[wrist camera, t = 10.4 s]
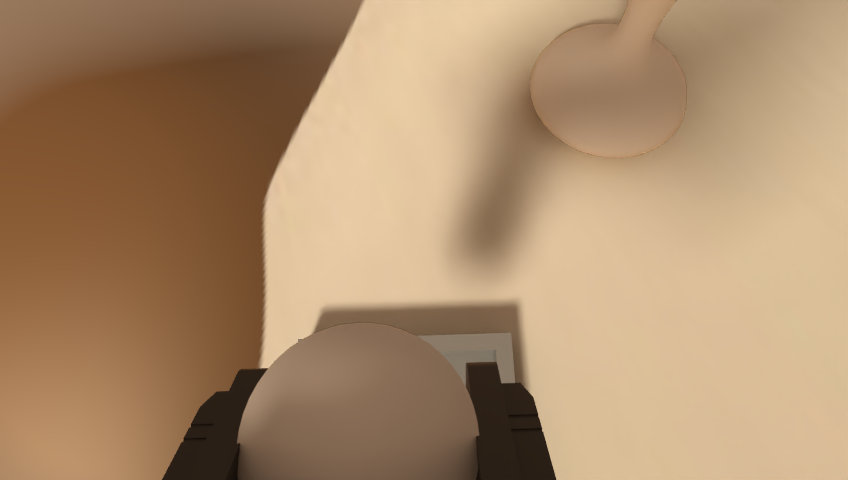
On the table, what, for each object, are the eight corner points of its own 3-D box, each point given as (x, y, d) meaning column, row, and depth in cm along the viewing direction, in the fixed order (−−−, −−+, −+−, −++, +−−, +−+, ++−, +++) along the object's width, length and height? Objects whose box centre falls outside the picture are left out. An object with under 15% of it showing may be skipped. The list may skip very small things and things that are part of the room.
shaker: (452, 386, 23) (472, 318, 11) (458, 512, 21) (488, 578, 10) (339, 390, 23) (246, 326, 11) (336, 516, 21) (225, 586, 10)
